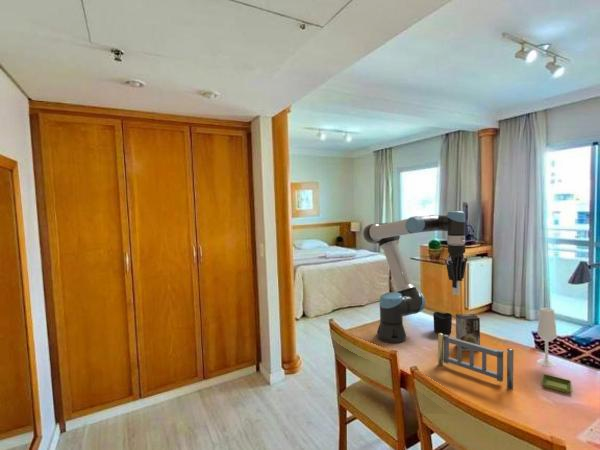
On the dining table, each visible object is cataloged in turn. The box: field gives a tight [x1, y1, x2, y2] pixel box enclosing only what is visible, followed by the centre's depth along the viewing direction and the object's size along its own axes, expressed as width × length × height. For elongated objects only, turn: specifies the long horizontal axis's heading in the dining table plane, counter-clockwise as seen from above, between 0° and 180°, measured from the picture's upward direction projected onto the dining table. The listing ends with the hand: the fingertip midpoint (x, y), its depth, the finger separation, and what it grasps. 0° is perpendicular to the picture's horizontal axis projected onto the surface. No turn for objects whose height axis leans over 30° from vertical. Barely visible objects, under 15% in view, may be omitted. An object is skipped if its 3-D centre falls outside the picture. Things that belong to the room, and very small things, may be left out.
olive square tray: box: [541, 373, 572, 394], centre depth 125 cm, size 9×9×2 cm
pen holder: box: [432, 311, 453, 336], centre depth 179 cm, size 9×9×10 cm
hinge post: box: [506, 348, 514, 390], centre depth 124 cm, size 2×2×15 cm
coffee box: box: [455, 313, 481, 352], centre depth 158 cm, size 9×6×16 cm
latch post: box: [437, 333, 444, 367], centre depth 143 cm, size 2×2×14 cm
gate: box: [443, 334, 504, 383], centre depth 134 cm, size 23×2×12 cm, turn 42°
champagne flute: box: [536, 307, 557, 368], centre depth 141 cm, size 7×7×24 cm
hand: (456, 294), depth 152 cm, fingers closed
